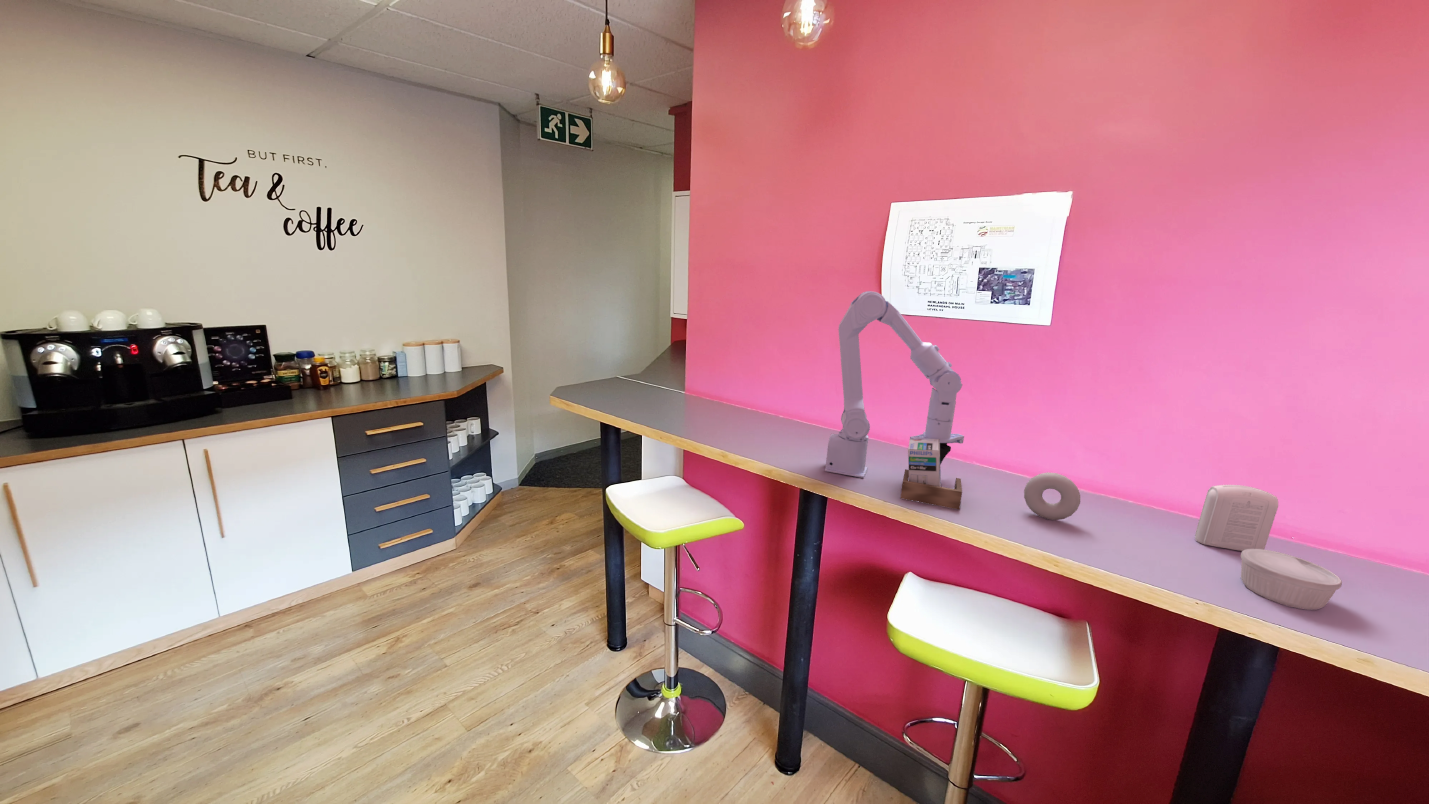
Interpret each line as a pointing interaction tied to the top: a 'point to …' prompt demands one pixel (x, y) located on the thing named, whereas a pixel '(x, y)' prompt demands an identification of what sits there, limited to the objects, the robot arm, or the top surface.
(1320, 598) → the ramekin
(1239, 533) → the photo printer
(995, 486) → the top surface
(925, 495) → the walnut sleeve
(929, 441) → the light bulb box
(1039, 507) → the donut
